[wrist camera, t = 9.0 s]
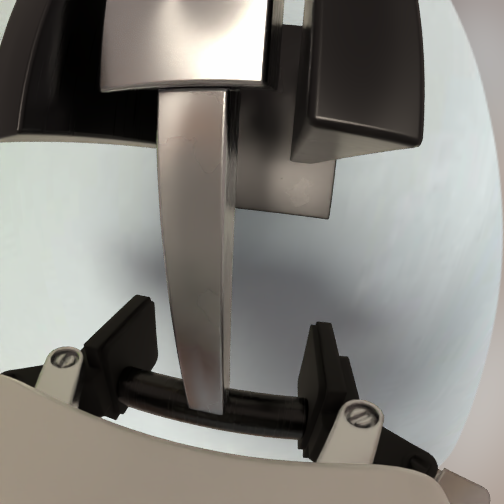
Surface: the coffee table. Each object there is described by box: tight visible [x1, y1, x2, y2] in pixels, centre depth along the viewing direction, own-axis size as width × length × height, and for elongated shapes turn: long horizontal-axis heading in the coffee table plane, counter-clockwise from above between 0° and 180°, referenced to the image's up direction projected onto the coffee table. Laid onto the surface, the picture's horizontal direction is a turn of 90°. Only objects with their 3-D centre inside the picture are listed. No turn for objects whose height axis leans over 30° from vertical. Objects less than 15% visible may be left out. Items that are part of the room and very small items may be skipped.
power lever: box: [98, 0, 309, 440], centre depth 6 cm, size 12×6×2 cm, turn 175°
